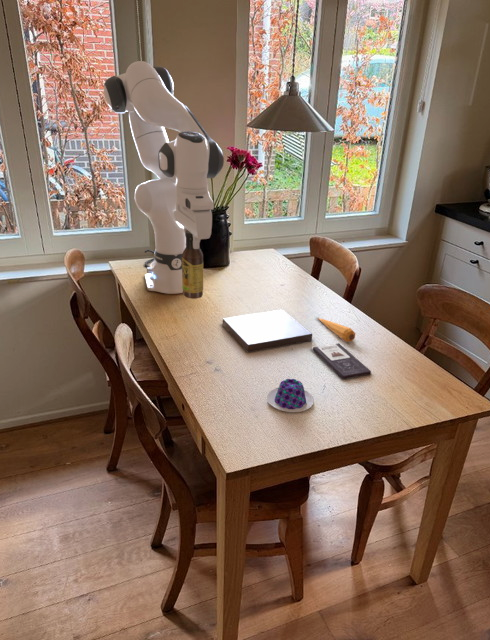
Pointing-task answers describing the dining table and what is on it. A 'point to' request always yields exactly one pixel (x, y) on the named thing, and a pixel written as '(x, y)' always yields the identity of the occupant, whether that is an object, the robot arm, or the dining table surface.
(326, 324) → the carrot
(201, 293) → the sauce bottle
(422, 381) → the dining table surface
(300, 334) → the walnut board
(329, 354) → the chocolate bar
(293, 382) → the pudding
